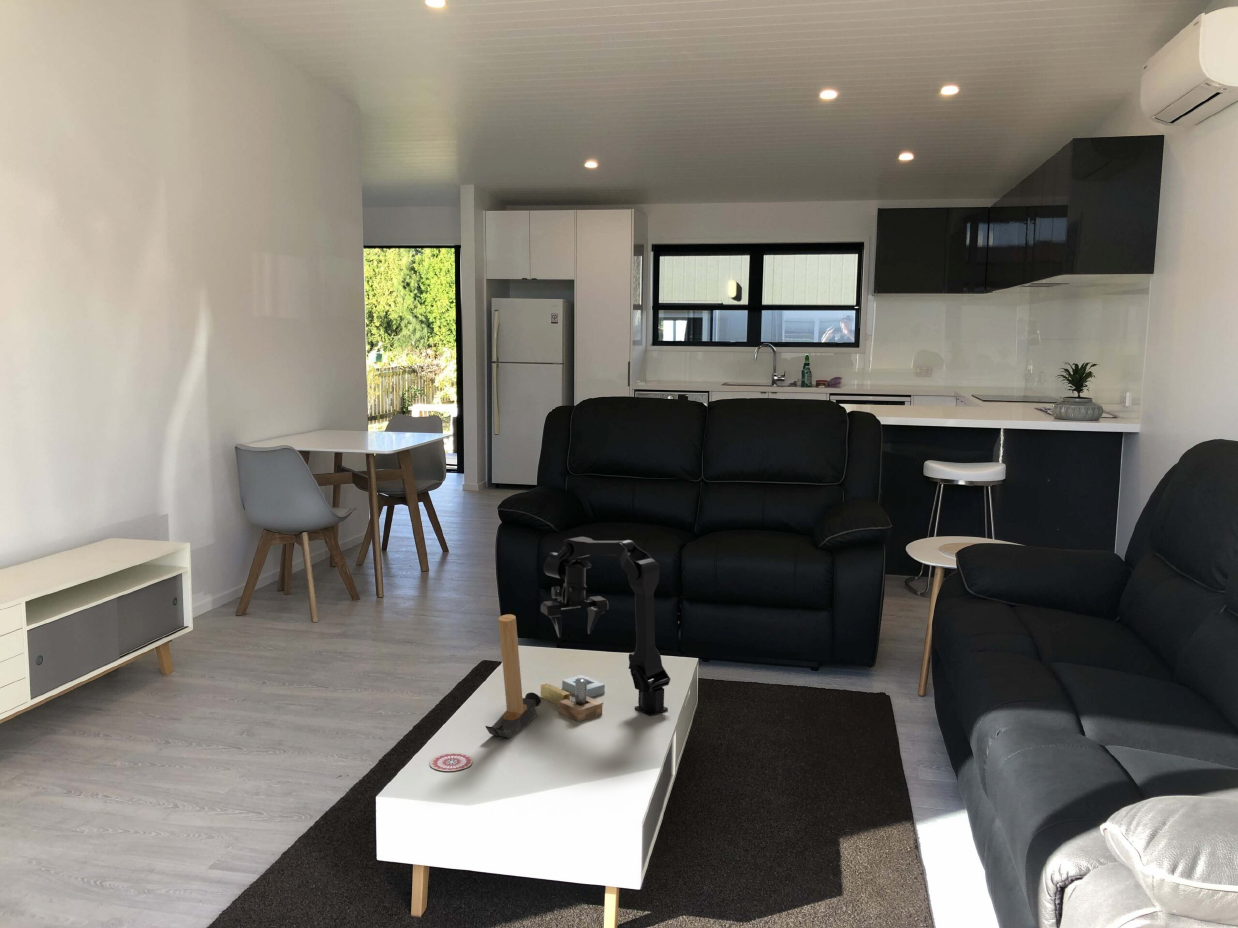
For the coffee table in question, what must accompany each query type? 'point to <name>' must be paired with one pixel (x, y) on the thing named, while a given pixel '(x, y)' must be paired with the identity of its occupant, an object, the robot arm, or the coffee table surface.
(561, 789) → the coffee table surface
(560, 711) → the socket block
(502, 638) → the hammer
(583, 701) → the peg
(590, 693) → the light blue rectangular frame
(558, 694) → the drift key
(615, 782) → the coffee table surface
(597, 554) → the robot arm
